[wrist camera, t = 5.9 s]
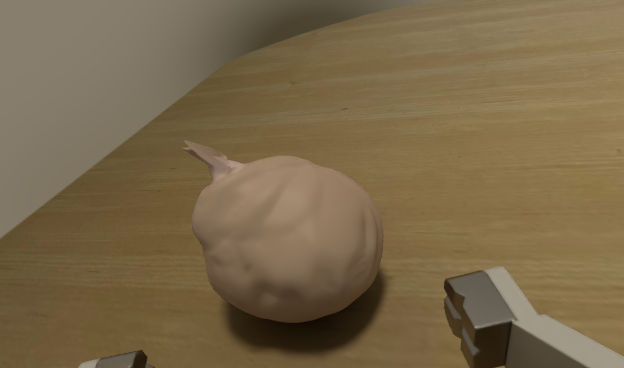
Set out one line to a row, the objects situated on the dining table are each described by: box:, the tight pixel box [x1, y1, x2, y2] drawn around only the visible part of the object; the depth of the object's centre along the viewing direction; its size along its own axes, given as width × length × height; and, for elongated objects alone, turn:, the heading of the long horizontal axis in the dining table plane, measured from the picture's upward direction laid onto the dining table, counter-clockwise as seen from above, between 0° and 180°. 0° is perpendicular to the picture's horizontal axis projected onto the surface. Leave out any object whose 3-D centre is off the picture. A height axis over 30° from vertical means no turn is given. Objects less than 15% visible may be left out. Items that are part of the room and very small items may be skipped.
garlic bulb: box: [182, 139, 384, 323], centre depth 16 cm, size 7×6×8 cm
